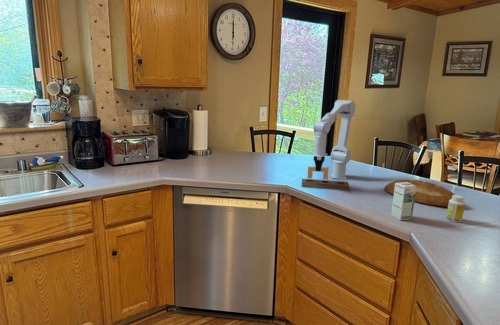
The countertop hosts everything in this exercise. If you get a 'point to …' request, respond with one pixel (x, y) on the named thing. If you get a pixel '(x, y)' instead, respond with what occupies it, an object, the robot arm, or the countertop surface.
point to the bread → (425, 192)
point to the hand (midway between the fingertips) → (318, 170)
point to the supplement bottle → (455, 208)
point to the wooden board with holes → (325, 184)
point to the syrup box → (403, 201)
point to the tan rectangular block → (323, 169)
